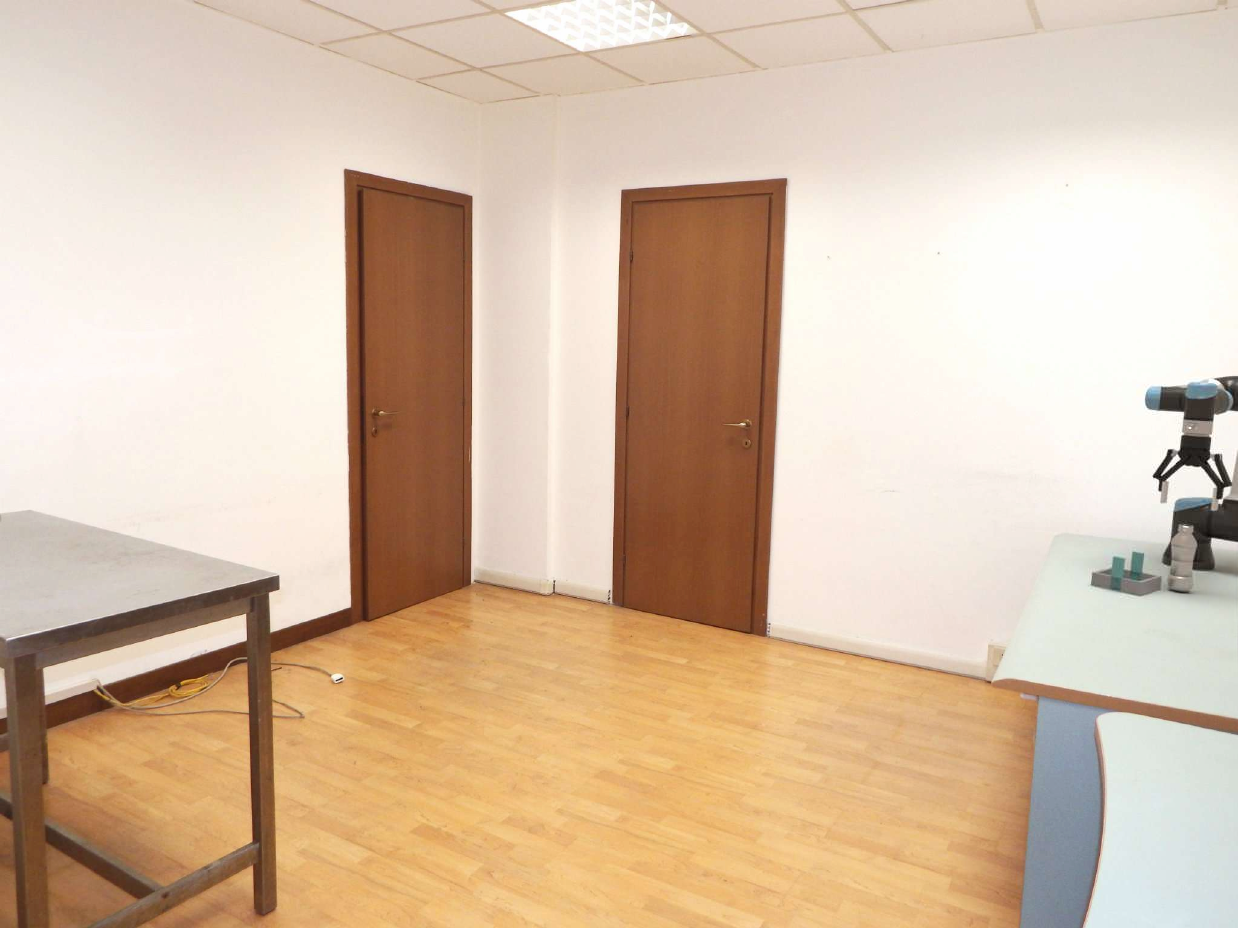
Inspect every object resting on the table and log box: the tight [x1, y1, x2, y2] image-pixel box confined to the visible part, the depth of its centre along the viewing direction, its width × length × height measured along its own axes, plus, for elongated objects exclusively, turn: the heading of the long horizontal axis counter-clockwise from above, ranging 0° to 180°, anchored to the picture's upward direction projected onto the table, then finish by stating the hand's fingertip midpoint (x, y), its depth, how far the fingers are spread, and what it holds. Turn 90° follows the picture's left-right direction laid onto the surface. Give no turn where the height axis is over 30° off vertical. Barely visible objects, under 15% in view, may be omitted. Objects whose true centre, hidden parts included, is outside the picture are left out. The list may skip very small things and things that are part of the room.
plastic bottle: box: [1166, 524, 1197, 593], centre depth 270 cm, size 6×7×20 cm
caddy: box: [1090, 550, 1163, 597], centre depth 273 cm, size 14×14×10 cm
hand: (1188, 506), depth 268 cm, fingers open, 13 cm apart
